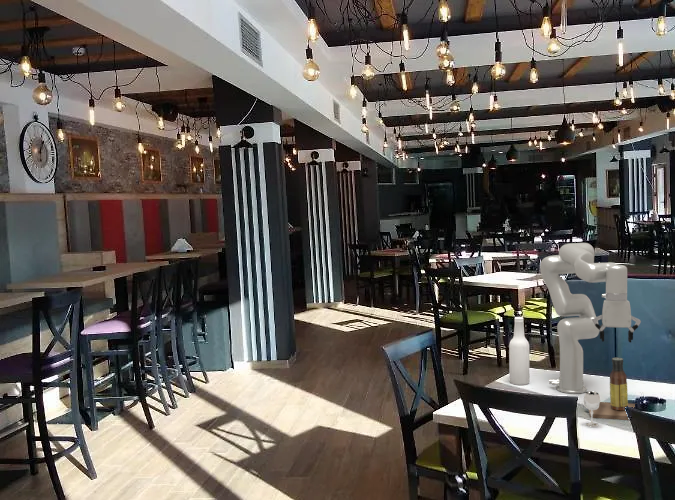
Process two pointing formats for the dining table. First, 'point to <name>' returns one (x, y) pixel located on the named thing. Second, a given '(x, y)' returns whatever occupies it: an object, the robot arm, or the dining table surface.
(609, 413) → the walnut board
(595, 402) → the wineglass
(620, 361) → the sauce bottle
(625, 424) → the dining table surface
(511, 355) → the alcohol
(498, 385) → the dining table surface
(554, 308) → the robot arm
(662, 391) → the dining table surface
